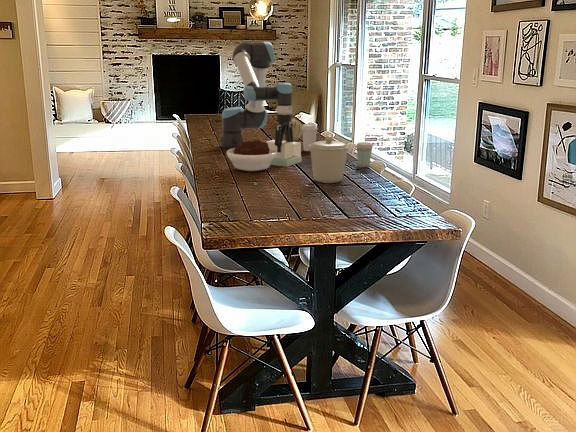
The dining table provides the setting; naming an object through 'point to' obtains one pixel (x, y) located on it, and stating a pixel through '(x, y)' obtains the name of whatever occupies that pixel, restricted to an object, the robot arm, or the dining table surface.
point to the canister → (328, 160)
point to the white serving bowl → (252, 156)
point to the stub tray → (287, 161)
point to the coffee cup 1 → (308, 135)
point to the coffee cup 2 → (364, 154)
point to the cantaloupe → (295, 129)
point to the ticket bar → (295, 150)
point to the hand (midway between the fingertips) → (284, 157)
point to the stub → (286, 150)
